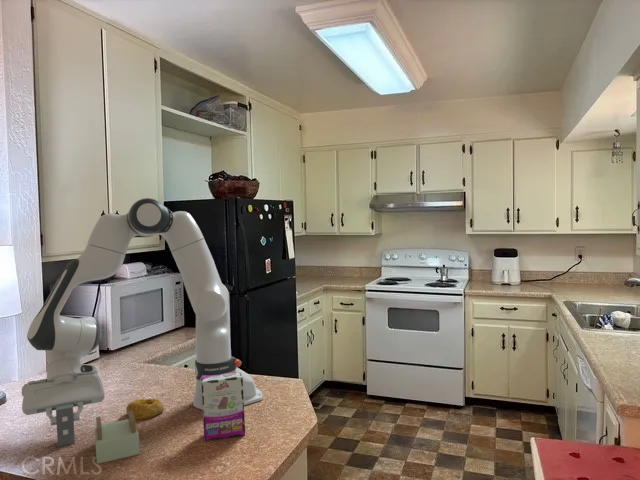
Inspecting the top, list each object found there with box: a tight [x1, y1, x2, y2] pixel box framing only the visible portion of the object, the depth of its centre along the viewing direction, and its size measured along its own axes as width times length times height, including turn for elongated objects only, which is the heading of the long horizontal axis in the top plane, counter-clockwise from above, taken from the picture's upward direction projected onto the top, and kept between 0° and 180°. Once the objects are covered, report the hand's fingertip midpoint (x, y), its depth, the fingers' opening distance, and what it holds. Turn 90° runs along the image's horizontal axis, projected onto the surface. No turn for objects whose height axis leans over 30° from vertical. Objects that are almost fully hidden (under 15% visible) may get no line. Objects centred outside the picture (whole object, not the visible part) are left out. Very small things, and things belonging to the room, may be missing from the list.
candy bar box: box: [201, 372, 246, 442], centre depth 133 cm, size 11×5×16 cm, turn 106°
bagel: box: [125, 398, 165, 421], centre depth 149 cm, size 10×11×5 cm
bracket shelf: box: [94, 410, 141, 465], centre depth 126 cm, size 10×12×8 cm
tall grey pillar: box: [55, 403, 76, 448], centre depth 131 cm, size 4×4×10 cm
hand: (65, 422), depth 130 cm, fingers closed on tall grey pillar, 4 cm apart
